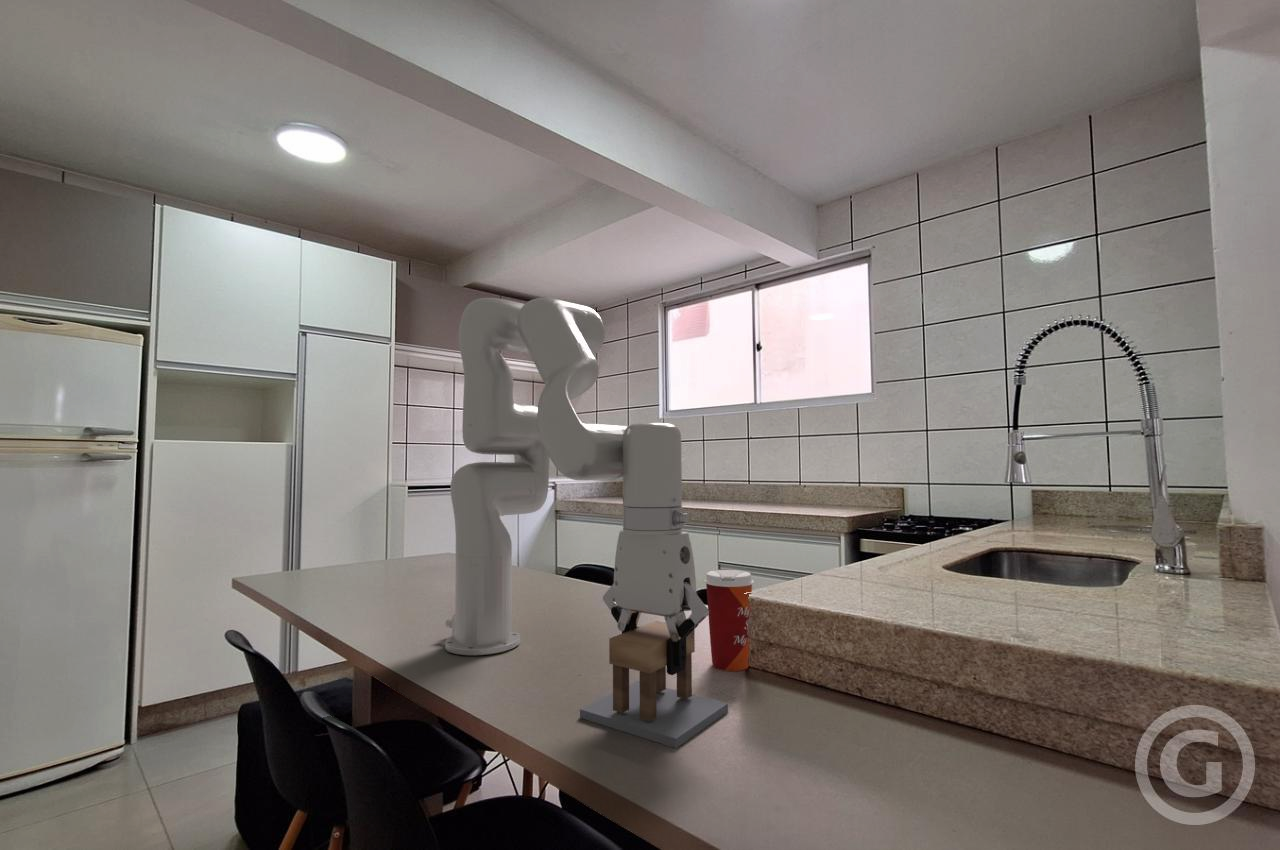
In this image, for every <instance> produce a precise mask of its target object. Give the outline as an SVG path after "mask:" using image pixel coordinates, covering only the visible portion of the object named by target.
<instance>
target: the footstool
mask: <svg viewBox="0 0 1280 850" xmlns="http://www.w3.org/2000/svg"><path fill="white" fill-rule="evenodd" d="M638 627H639V628H636V629H633V630H631V631H628V632H625V633H623V634H622V633H620V634H617V635H614V636H612V637H609V639H608V641H609V644H608V645H609V647H608V648H609V649H608V651H609V652H608V653H609V654H608V655H609V660H608V661H609V665H612V693H613V711H617V712H620V713H623V712H625V711H627V710H629V685H630V670H634V671H637V672H639V681H640V719H643V720H647V721H651V720H653V719H654V718H656V717H657V713H656V692H662V691H663V690H665V689H666V688H667V684H666V683H667V676H666V673H667V641H668V640H671V637H670V634H669V631H668V628H667V625H666V621H665V622H664V621H657V620H655V621H652V622H649V623H647V624H644V625H642V626H638ZM695 641H696V640H695V629H694V630H693V631H692V632H691V634H690V635H689V636H688V637H686V658H687V660H686V664H685V668H684V670H682V671H680V672H678V673H676V690H677V697H679V698H683V699H688V698H689V697H691V696H692V694H693V679H692V678H693V675H692V674H693V673H692V664H693V663H692V659H693V657H692V654H693V653H695V648H696V645H695V644H696V643H695Z"/></svg>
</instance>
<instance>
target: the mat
mask: <svg viewBox="0 0 1280 850" xmlns="http://www.w3.org/2000/svg"><path fill="white" fill-rule="evenodd" d="M656 713H657V717H656V718H654V719H653V720H651V721H647V720H643V719H640V680H636V681H634V682H632V683H629V710H627V711H625V712H623V713H620V712H617V711H613V692H612V693H610V694H608V695H606V696H604V697H602V698H600V699H598V700H596V701H593V702H592V703H589V704H588V705H586V706H584V707H581V708H579V718H580V719H582V720H585V721H590V722H593V723H596V724H599V725H602V726H606V727H609V728H611V729H614V730H617V731H621V732H623V733H627V734H630V735H634V736H637V737H639V738H643V739H646V740H649V741H653V742H655V743H660V744H661V745H662V744H663V745H666V746H668V747H671V748H674V749H677V748H679V747H680V746H681V745H683V744H685V743H686V742H688V741H689V740H690V739H691V738H693V737H694V736H696V735H697V734H698V733H700V732H701V731H704V729H705V728H707V727H708V726H710V725H712V724H713V723H714V722H715V721H717V720H718V719H720V718H721V717H722V716H724V715H726V714H727V713H729V703H728V702H724V701H720V700H716V699H711V698H709V697H708V698H707V697H704V696H700V695H696V694H693V693H692V696H691V697H689V698H688V699H683V698H679V697H677V689H672V688H668V687H666V689H665V690H663V691H662V692H656Z"/></svg>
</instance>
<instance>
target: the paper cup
mask: <svg viewBox="0 0 1280 850" xmlns="http://www.w3.org/2000/svg"><path fill="white" fill-rule="evenodd" d="M703 583H705V587H706V597H707V598H706V599H707V601H706V602H707V608H708V610H709V614H708V616H707V617H708V625H709V627H708V628H709V639H710V641H709V643H710V652H711V653H710V655H711V664H712V667H713V668H714V669H716V670H720V671H723V672H740V671H745V670H747V669H749V666H748V656H749V657H750V653H749V638H748V635H747V632H748V620H749V619H748V618H749V611H750V605H749V602H748V597H749V594H753V593H747V594H744V593H746V592H753V591H752V590H753V585H754V584H755V581H754V580H753V577H752V575H751V573H750V572H748V571H744V570H738V569H737V570H736V569H719V570H718V569H717V570H711V571H708V572H707V573H706V577H705V578H704V582H703Z"/></svg>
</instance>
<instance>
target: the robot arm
mask: <svg viewBox="0 0 1280 850" xmlns="http://www.w3.org/2000/svg"><path fill="white" fill-rule="evenodd" d="M605 330H606V329H605V326H604V322H603V320H602V318H601V316H600V314H599V313H598V312H596V310H594V309H593V308H591V307H589V306H587V305H582V304H579V303H573V302H569V301H565V300H561V299H558V298H553V297H537V298H534V299H531V300H529V301H526V303H523V302H518V301H514V300H510V299H505V298H498V297H480V298H477V299H474V300H472V301H471V302H470V303H468V304H467V306H466V307H465V309H464V311H463V313H462V315H461V318H460V322H459V325H458V346H459V353H460V356H461V357H460V358H461V362H462V368H463V378H464V379H463V398H462V399H463V401H462V402H463V403H462V426H461V427H462V431H461V432H462V440H463V445H464V446H465V448H466V449H467V450H468V451H470V452H471V453H475V454H480V455H493V456H494V455H495V456H501V455H503V456H505V455H506V456H507V455H508V456H513V458H514V462H502V461H496V462H495V461H481V462H472V463H467V464H465V465H463V466H460V468H458V469H457V470H456V471H455V472H454V473H453V475H452V478H451V482H450V498H451V504H452V509H453V515H454V526H455V527H454V528H455V529H454V531H455V573H454V574H455V575H454V576H455V579H454V580H455V581H454V582H455V583H454V584H455V585H454V615H453V616H452V617H451V619H450V618H449V619H447V620H446V621H445V623H444V624H445V627H446V628H449V629H451V636H449V637H447V639H446V640H445V641H444V648H445V649H444V650H446V651H447V652H448V653H451V654H455V655H459V656H460V655H461V656H484V655H485V656H486V655H493V654H499V653H504V652H506V651H507V652H508V651H509V650H512V649H515V648H516V647H518V645H520V643H521V635H520V633H518V632H516V631H513V630H512V583H513V582H512V578H513V577H512V574H513V573H512V570H513V569H512V567H513V565H512V564H513V563H512V561H513V560H512V559H513V557H512V553H513V552H512V551H513V548H512V547H513V546H512V539H511V535H510V533H509V531H508V529H507V527H506V526H505V524H504V523H503V522H502V520H501V517H504V516H511V515H512V516H514V515H523V514H524V515H527V514H534V513H535V512H538V511H539V510H541V508H543V506H544V505H545V503H546V501H547V498H548V493H549V482H550V481H549V480H550V479H549V478H550V460H551V462H552V463H553V465H554V467H555V468H556V469H557V470H558V471H559V473H561V475H563V476H564V477H566V478H568V479H570V480H573V481H601V480H602V481H603V480H604V481H606V480H607V481H622V530H620V531H619V534H618V538H617V542H616V543H617V544H616V549H615V559H614V569H613V570H614V571H613V583H612V585H611V586H610V587H609V588H608V589H607V590H606V592H605V593H604V594H603V596H602V600H603V601H602V602H604V604H605V605H606V606H607V608H608V609H609V610H610V613H611V616H612V617H613V619H614V620H615V622H616V623H617V625H616V626H617V629H618V630H619V631H620V632H621V634H623V633H625V632H628V631H631V630H633V629H636V628H639V627H640V626H637V625H638V623H639V620H640V616H641V613H642V614H647V615H653V616H659V617H663V618H664V621H665V623H666V625H667V628H668V631H669V634H670V637H671V640H668V641H667V666H666V673H667V675H669V676H674V675H675V674H676V675H677V673H678V672H680V671H682V670H684V668H685V664H686V660H687V658H686V637H688V636H689V635H690V634H691V632H692V631H693V630H694V631H695V629H696V628H698V626H699V624H701V623H702V622H703V621H704V620H705V619H706V618H707V617H709V616H708V614H709V610H708V606H706V604H705V603H704V602H703V601H702V599H701V598H700V597H699V595H698V594H697V579H696V567H695V560H694V558H695V557H694V554H693V548H692V544H691V543H692V542H691V538H690V535H689V532H688V531H683V528H684V525H689V523H690V521H691V514H689V513H688V512H684V507H683V497H682V496H683V492H682V490H683V488H682V487H683V485H682V484H683V482H682V480H683V478H682V477H683V476H682V435H681V434H682V433H681V431H680V429H679V427H678V426H676V425H674V424H673V423H666V422H641V423H639V422H638V423H633V424H629V425H617V424H606V423H591V422H582V421H581V419H580V418H579V415H578V414H577V413H576V410H575V409H574V407H573V404H572V402H571V400H573V399H575V398H578V397H580V396H581V395H583V394H584V393H586V392H587V391H588V390H590V389H591V388H592V387H593V386H594V385H595V383H596V382H597V380H598V378H599V375H600V365H599V362H598V361H597V358H596V357H595V356H594V355H596V354H597V353H598V352H599V351H600V350H601V348H602V347H603V346H604V342H605V337H606V336H605V335H606V331H605ZM502 350H504V351H510V352H515V353H521V354H528V355H530V357H531V359H532V361H533V363H534V365H535V368H536V370H537V371H538V374H539V375H540V377H541V379H542V381H543V383H544V388H543V389H542V391H541V394H540V396H539V400H538V403H537V405H534V404H529V403H528V404H527V403H516V402H515V401H514V376H513V373H512V370H511V368H510V365H509V364H508V362H507V360H506V359H505V357H504V356H503V354H502V353H501V352H500V351H502ZM689 611H691V614H690V615H689V616H688V617H687V615H686V612H689Z"/></svg>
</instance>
